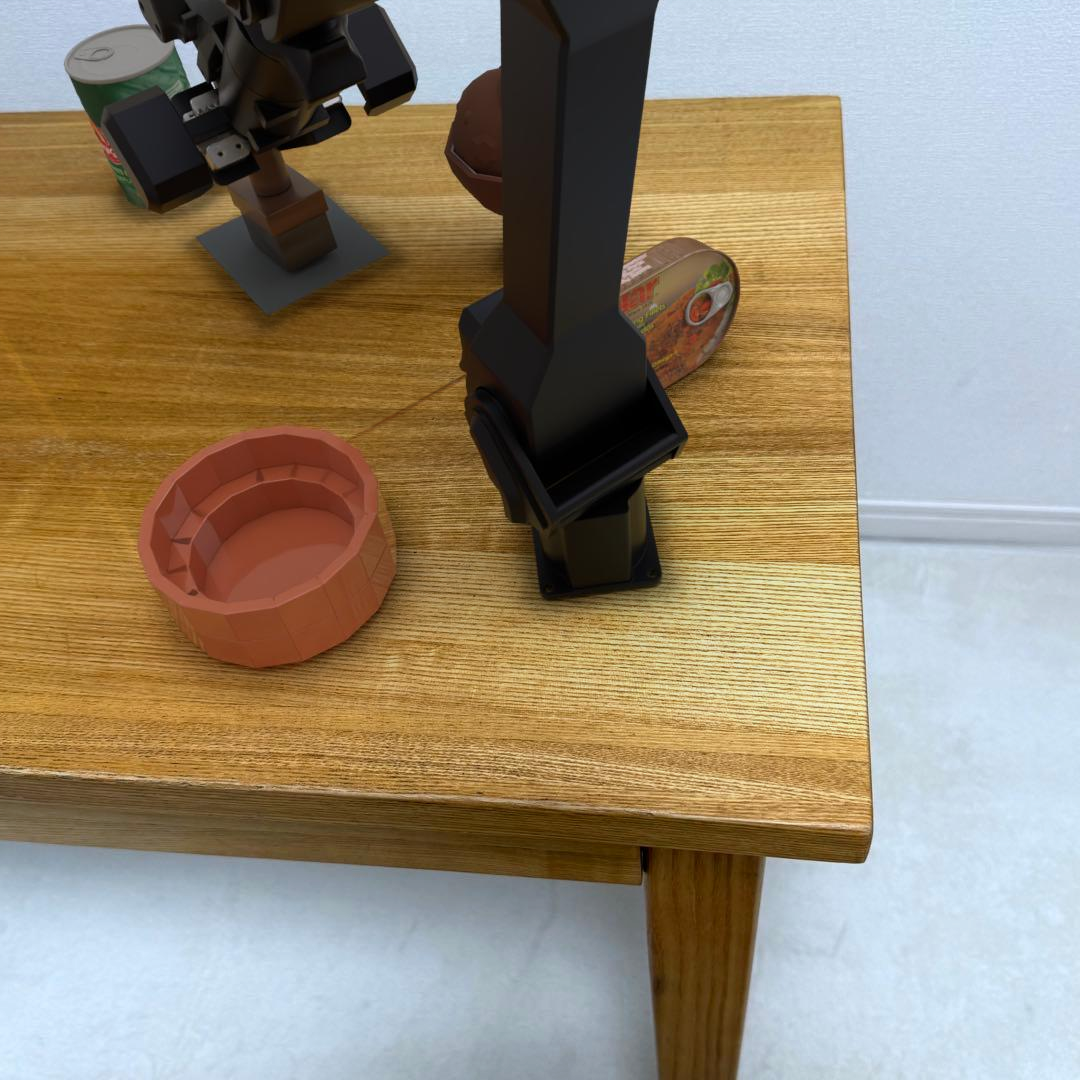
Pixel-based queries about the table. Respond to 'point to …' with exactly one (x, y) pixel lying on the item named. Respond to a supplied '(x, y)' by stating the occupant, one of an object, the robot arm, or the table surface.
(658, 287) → the tin
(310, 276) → the mat
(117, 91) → the canned tomato
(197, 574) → the bowl
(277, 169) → the brush
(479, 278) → the table surface
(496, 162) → the ice cream bowl
